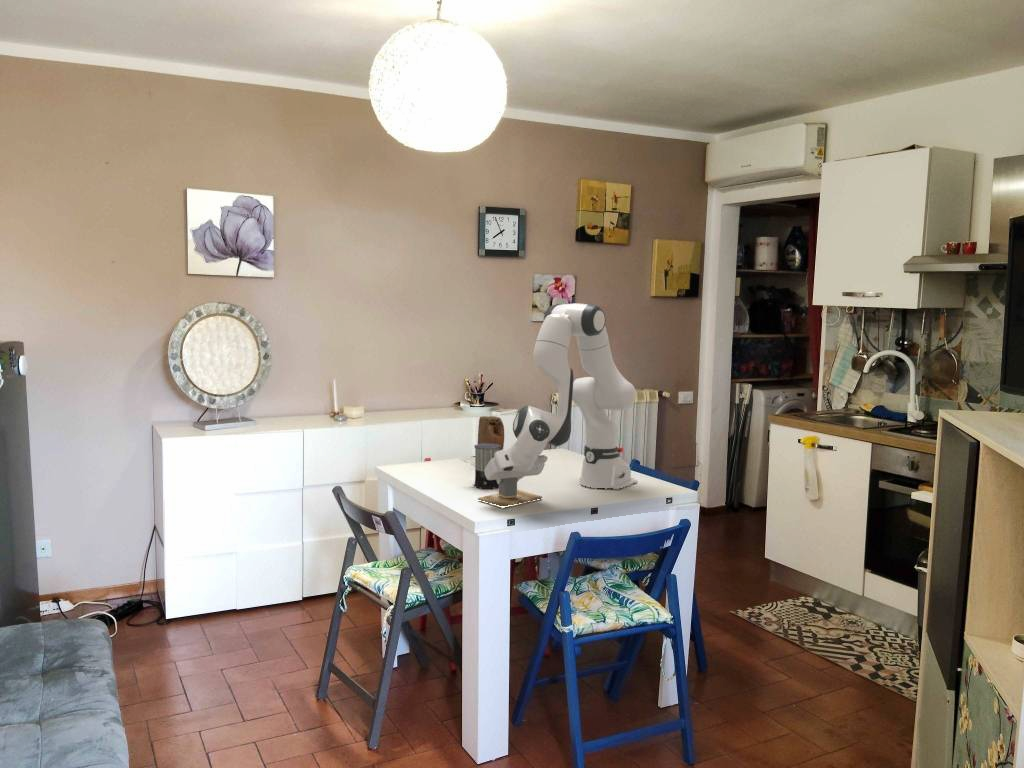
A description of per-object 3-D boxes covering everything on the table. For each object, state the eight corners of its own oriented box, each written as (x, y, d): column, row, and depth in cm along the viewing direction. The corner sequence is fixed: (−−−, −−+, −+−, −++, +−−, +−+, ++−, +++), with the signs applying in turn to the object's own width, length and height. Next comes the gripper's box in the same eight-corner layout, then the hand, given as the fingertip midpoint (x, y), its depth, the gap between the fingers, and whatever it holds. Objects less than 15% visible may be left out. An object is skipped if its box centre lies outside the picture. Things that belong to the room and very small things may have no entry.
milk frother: (475, 489, 288) (476, 448, 286) (469, 479, 303) (470, 440, 301) (515, 488, 290) (516, 447, 289) (507, 478, 306) (508, 439, 304)
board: (517, 493, 284) (517, 489, 284) (542, 499, 275) (542, 496, 275) (478, 501, 272) (478, 497, 271) (502, 508, 263) (502, 505, 263)
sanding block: (510, 493, 276) (510, 467, 275) (516, 496, 272) (517, 470, 271) (498, 495, 274) (498, 468, 273) (504, 498, 270) (505, 471, 269)
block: (475, 465, 329) (476, 415, 326) (491, 463, 333) (492, 414, 331) (490, 470, 320) (491, 419, 318) (506, 468, 324) (507, 418, 322)
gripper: (546, 447, 270) (530, 470, 280) (490, 452, 261) (476, 476, 270) (552, 463, 267) (537, 486, 277) (496, 468, 257) (482, 492, 267)
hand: (506, 481), depth 273 cm, fingers closed on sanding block, 4 cm apart
